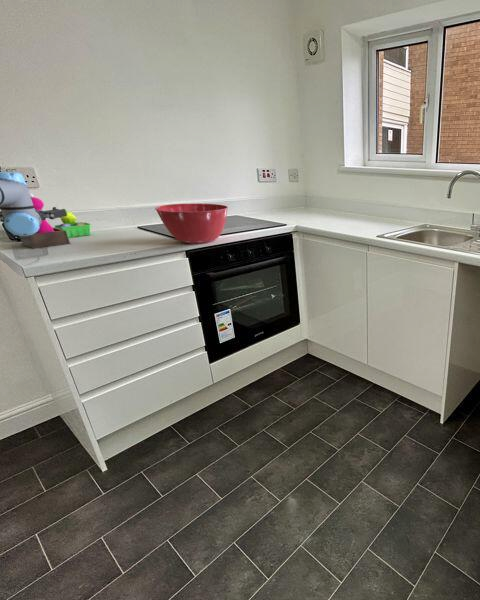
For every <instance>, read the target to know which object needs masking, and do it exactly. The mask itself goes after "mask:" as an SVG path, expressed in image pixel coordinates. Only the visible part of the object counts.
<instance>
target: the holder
mask: <svg viewBox="0 0 480 600" xmlns="http://www.w3.org/2000/svg"><path fill="white" fill-rule="evenodd" d="M52 228H53V229H54V232H45V233H35V234H32V235H29V236H19V238H20V242H21V245H23V246H26V247H29V248H31V249H40V248H47V247H54V246H62V245H70V244H71V242H70V239H69V237H68V236H67V233H66V230H62V229H58V228H55V226H54V227H53V226H52Z"/></svg>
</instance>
